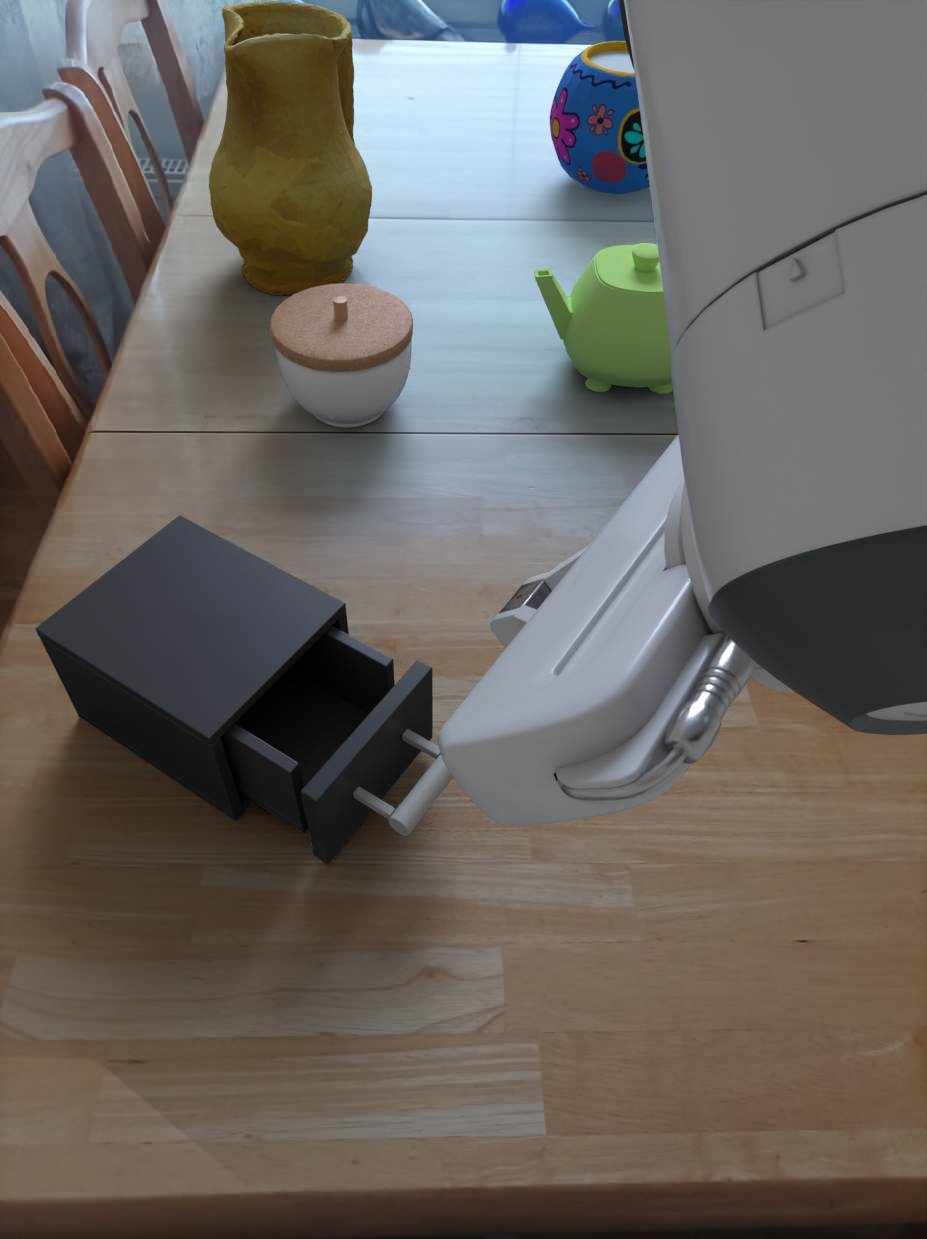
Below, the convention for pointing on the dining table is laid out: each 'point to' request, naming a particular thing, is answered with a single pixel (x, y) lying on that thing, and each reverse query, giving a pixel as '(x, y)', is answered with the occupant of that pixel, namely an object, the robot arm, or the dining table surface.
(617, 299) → the teapot
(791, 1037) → the dining table surface
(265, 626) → the cabinet
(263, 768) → the drawer
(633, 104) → the ceramic pot
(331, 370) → the lidded bowl
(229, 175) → the pitcher
